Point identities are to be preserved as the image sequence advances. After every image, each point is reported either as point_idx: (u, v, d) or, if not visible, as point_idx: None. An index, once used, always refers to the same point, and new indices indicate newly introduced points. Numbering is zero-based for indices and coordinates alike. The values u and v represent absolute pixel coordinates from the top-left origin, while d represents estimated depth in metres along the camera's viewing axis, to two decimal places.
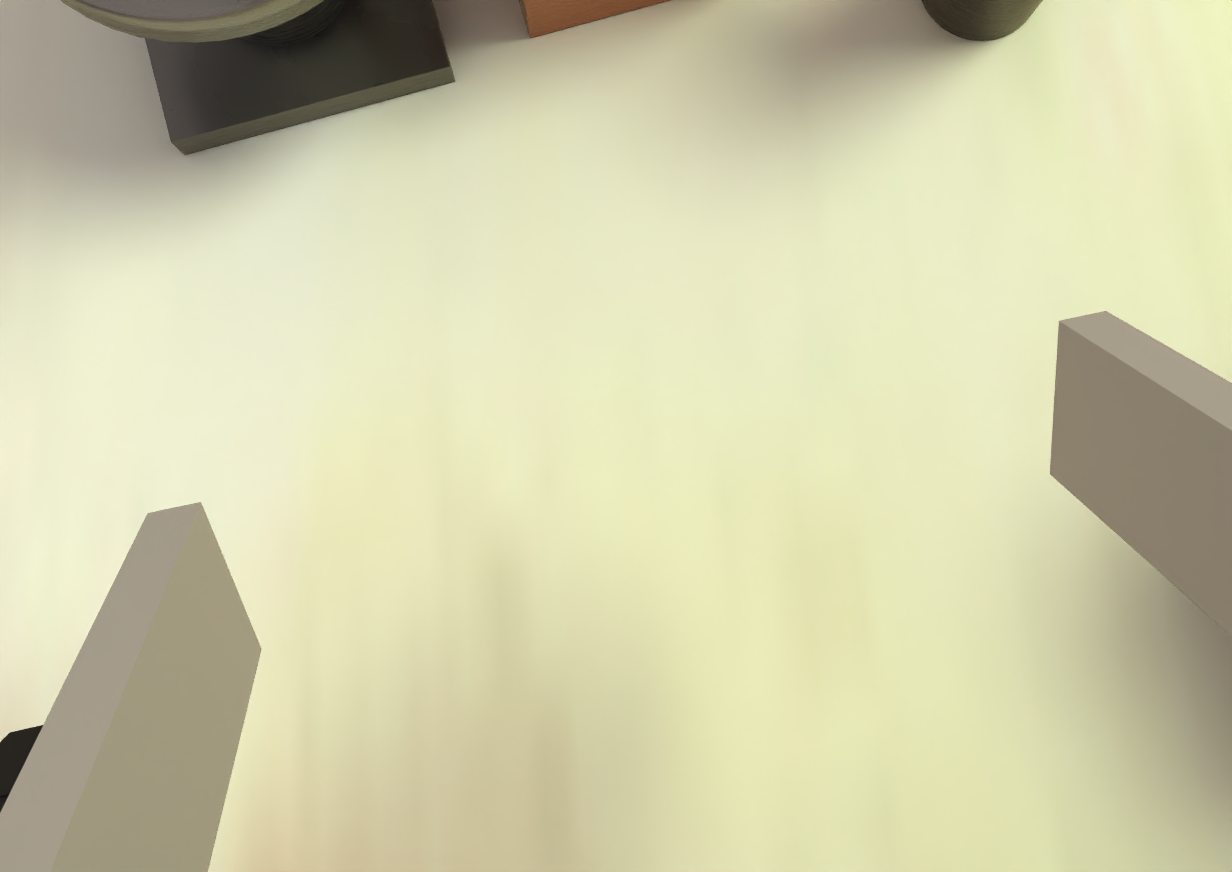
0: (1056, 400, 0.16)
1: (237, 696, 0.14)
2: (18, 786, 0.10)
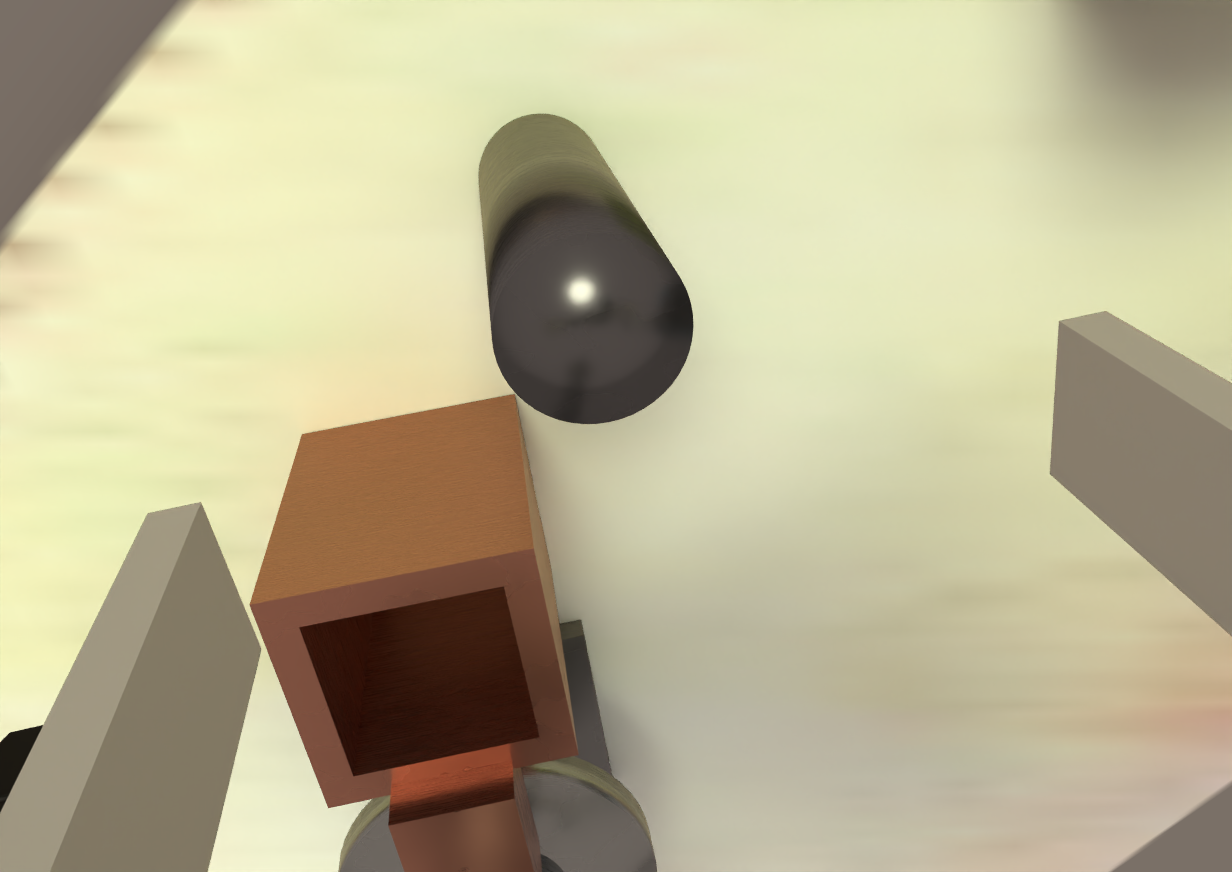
0: (1057, 401, 0.16)
1: (236, 695, 0.14)
2: (18, 786, 0.10)
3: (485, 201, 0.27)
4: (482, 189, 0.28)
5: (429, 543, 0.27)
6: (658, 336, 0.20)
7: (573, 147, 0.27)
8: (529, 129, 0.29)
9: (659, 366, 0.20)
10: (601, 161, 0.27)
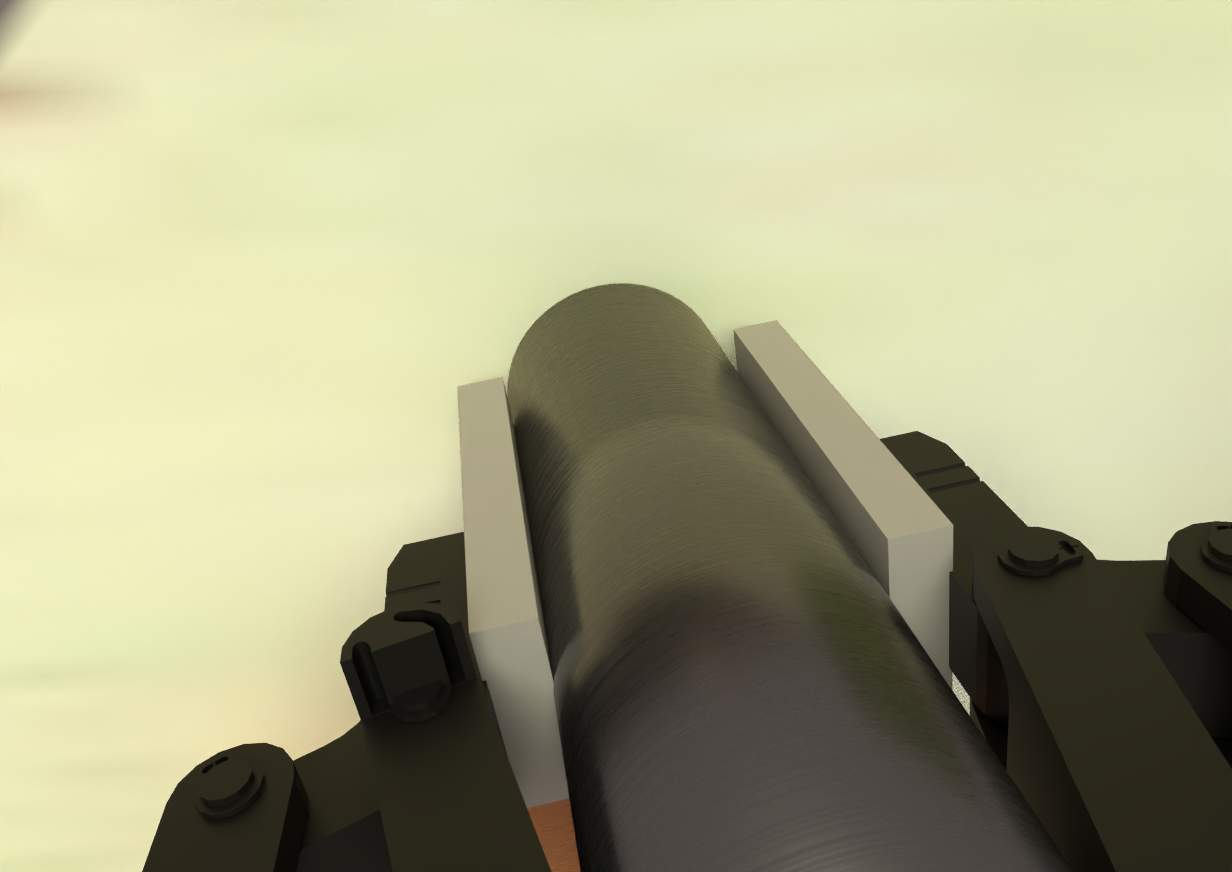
0: None
1: None
2: (469, 560, 0.12)
3: (541, 526, 0.13)
4: (526, 463, 0.15)
5: None
6: None
7: (717, 410, 0.13)
8: (610, 338, 0.15)
9: None
10: (768, 429, 0.14)
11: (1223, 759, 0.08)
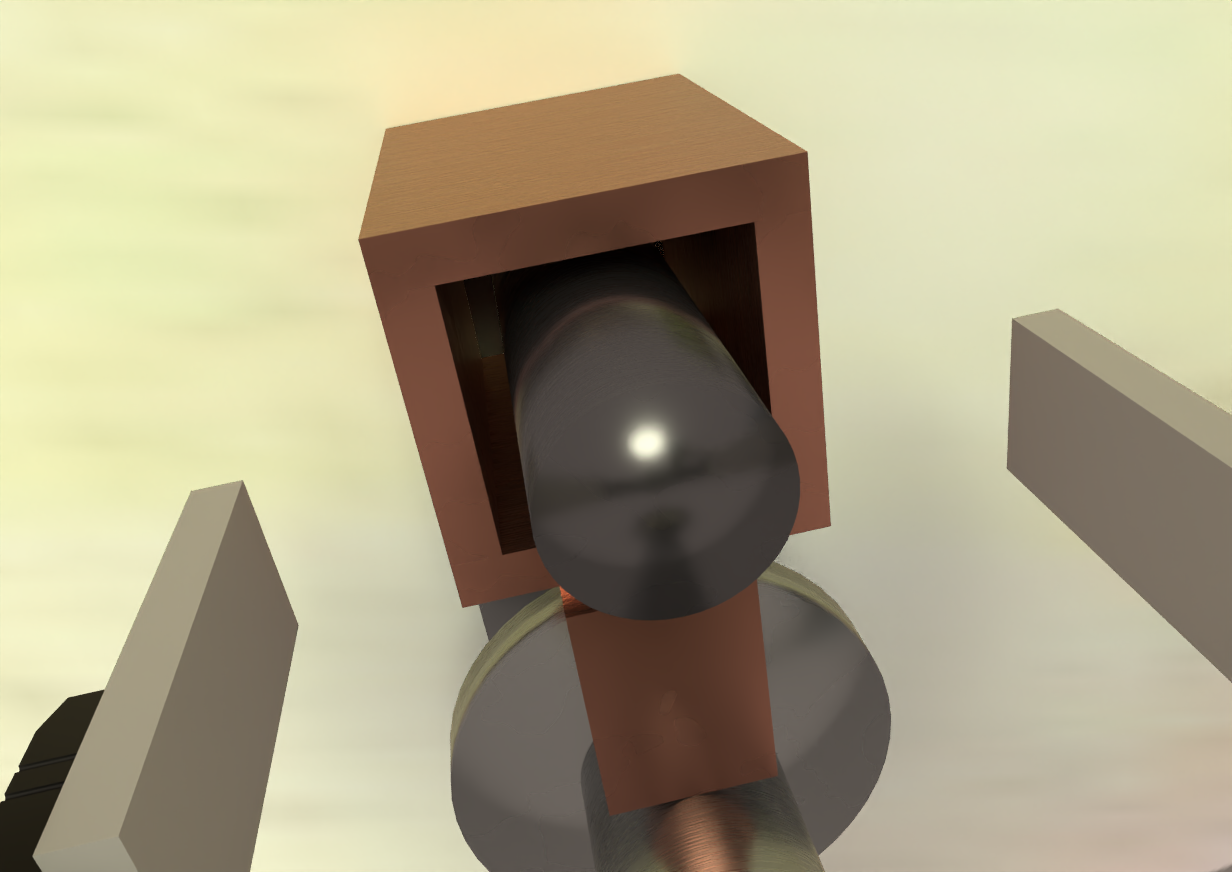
0: (1012, 397, 0.16)
1: (278, 668, 0.14)
2: (86, 743, 0.10)
3: (502, 290, 0.21)
4: None
5: (629, 168, 0.18)
6: (753, 509, 0.15)
7: None
8: None
9: (753, 546, 0.15)
10: None
11: None
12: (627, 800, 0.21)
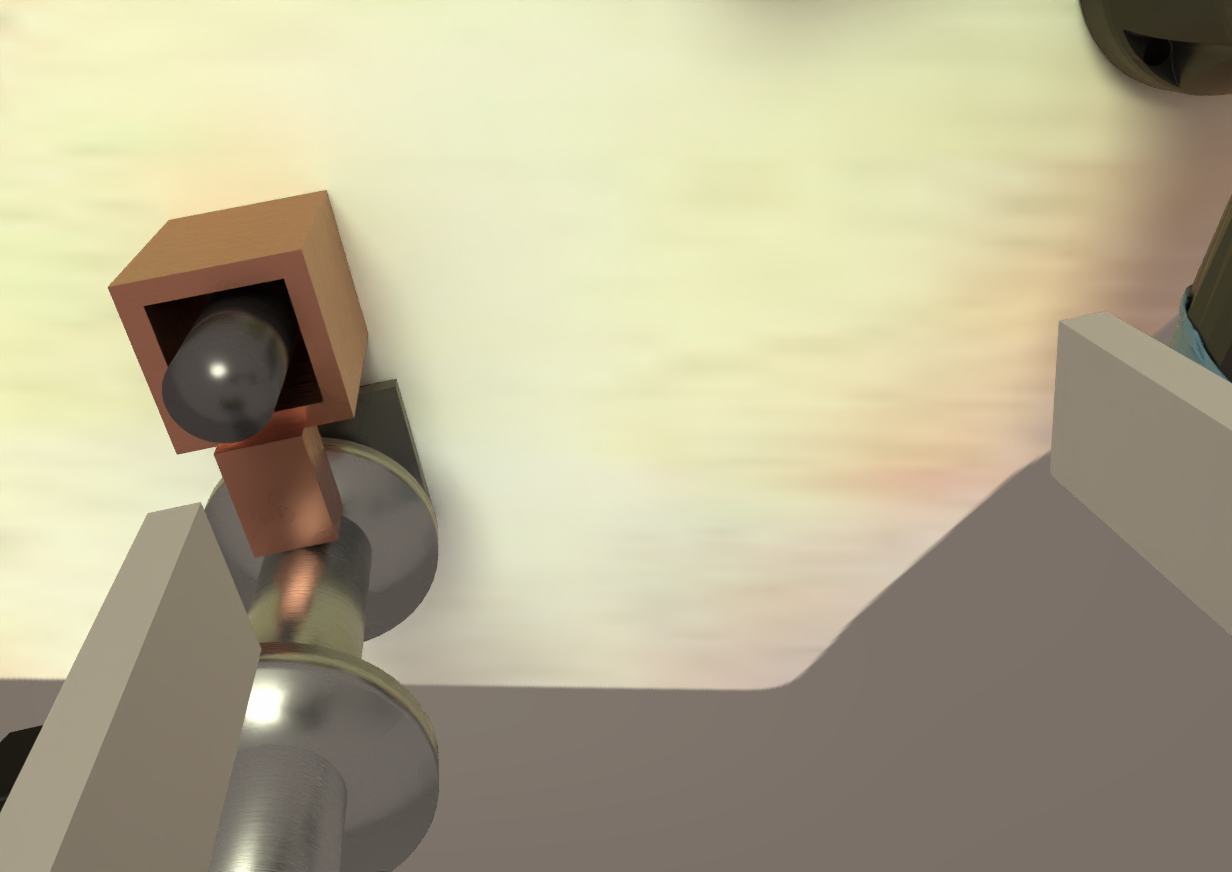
0: (1056, 401, 0.16)
1: (236, 696, 0.14)
2: (18, 786, 0.10)
3: None
4: None
5: (234, 254, 0.40)
6: (256, 396, 0.38)
7: None
8: None
9: (260, 411, 0.38)
10: (281, 279, 0.45)
11: None
12: (261, 550, 0.43)
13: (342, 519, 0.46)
